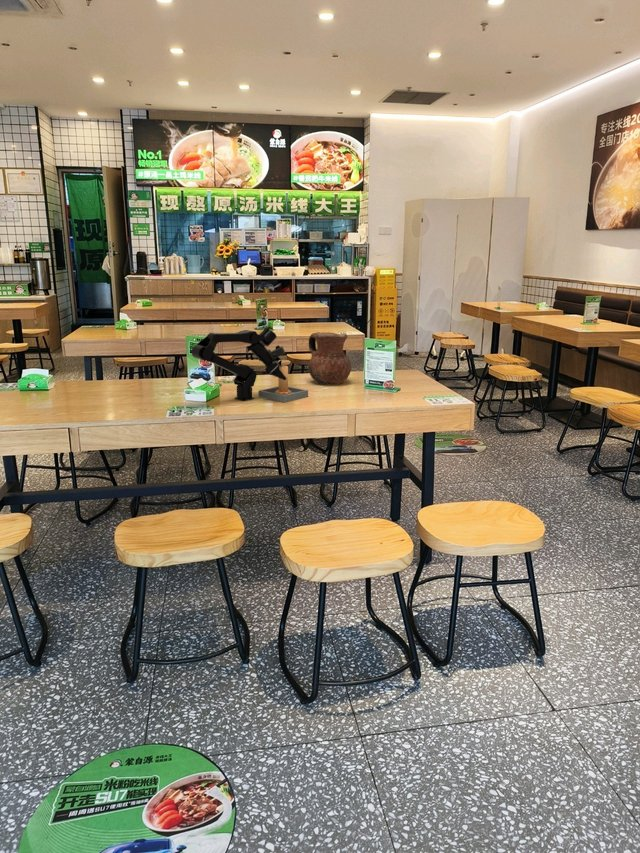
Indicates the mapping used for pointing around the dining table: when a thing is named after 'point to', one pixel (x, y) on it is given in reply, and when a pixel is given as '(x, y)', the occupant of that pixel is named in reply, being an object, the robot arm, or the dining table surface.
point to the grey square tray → (294, 395)
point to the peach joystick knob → (283, 382)
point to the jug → (328, 358)
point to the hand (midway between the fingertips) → (286, 377)
